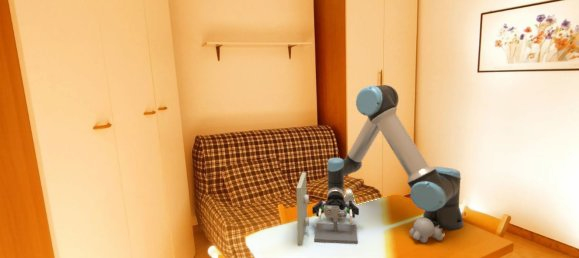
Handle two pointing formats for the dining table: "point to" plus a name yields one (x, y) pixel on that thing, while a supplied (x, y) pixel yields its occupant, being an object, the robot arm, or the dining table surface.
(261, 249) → the dining table surface
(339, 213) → the mechanical component
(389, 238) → the dining table surface
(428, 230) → the chubby cartoon animal
